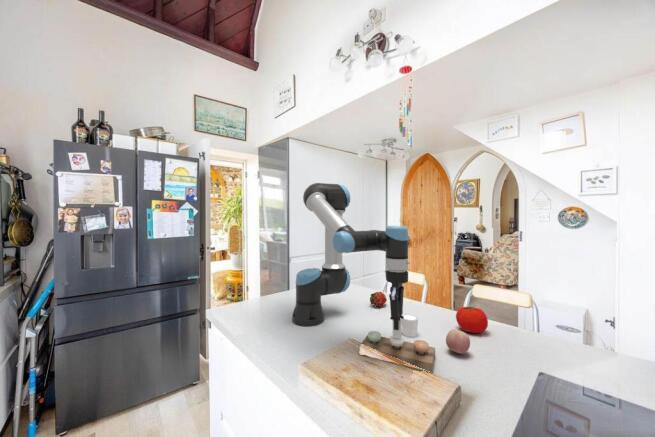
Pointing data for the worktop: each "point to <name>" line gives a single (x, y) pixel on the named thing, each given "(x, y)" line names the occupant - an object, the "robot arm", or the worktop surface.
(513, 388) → the worktop surface
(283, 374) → the worktop surface
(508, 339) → the worktop surface
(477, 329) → the tomato
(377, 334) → the button sage
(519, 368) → the worktop surface
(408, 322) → the white cylinder
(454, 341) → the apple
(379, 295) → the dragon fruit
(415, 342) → the button terracotta
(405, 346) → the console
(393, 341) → the button ivory
